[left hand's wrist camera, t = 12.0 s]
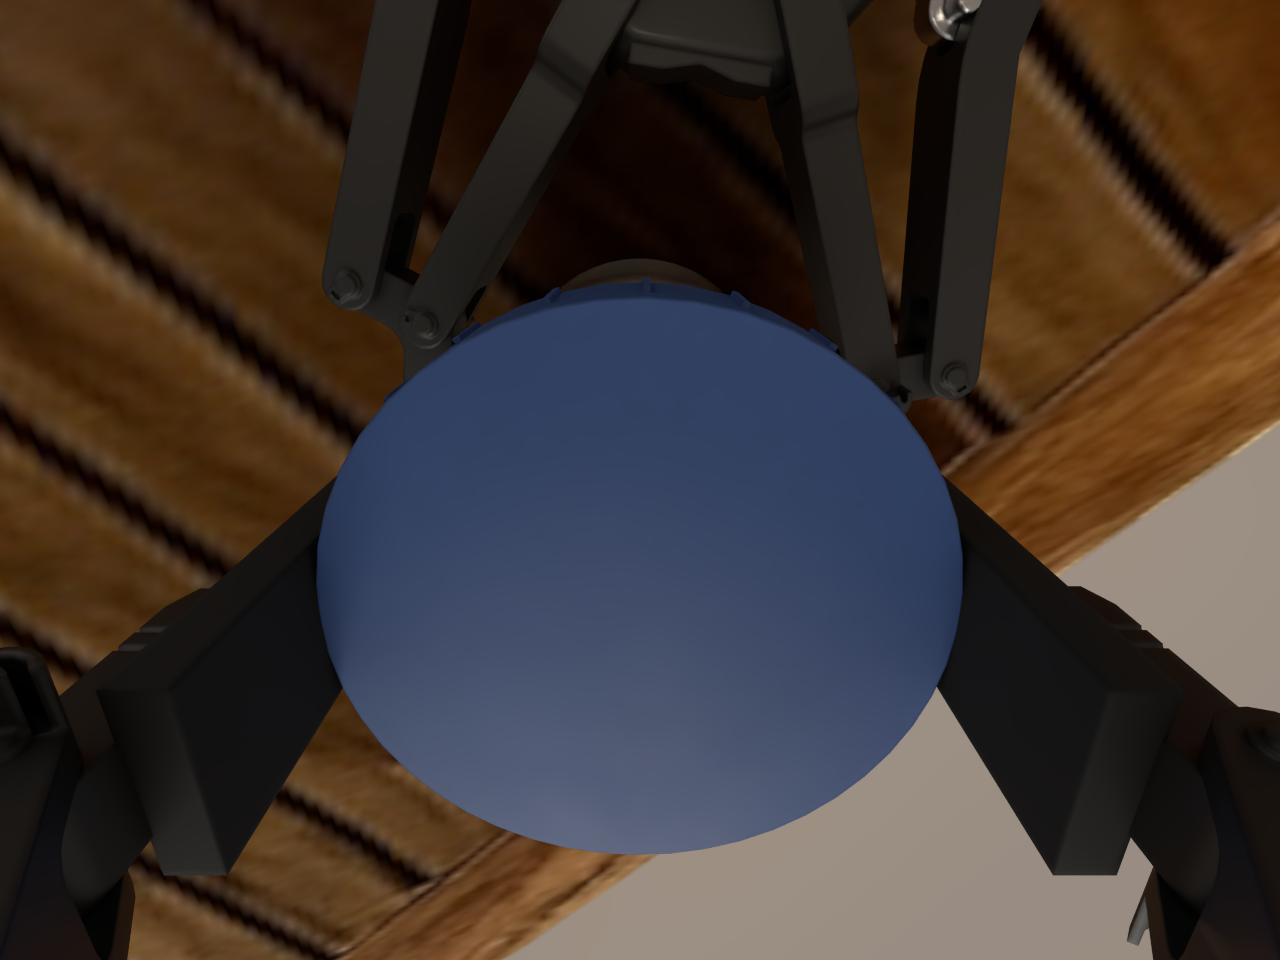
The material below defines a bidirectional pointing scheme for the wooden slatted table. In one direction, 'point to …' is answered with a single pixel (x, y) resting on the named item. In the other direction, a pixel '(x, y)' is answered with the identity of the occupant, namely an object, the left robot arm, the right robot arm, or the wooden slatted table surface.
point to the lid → (639, 571)
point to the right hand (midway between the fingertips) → (616, 584)
